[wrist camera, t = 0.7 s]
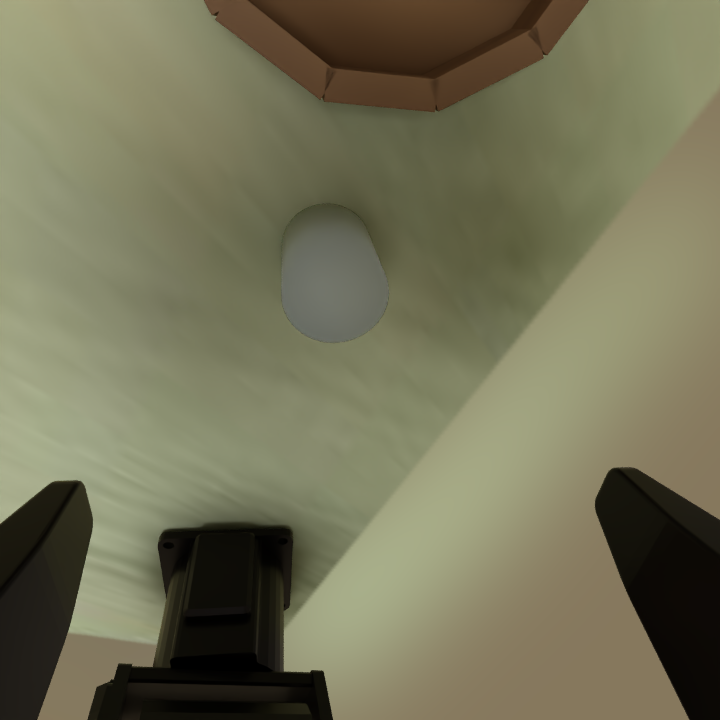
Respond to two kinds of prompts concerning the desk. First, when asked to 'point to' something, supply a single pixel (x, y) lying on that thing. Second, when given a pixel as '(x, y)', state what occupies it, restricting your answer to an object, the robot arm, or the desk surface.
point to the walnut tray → (398, 44)
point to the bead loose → (331, 275)
